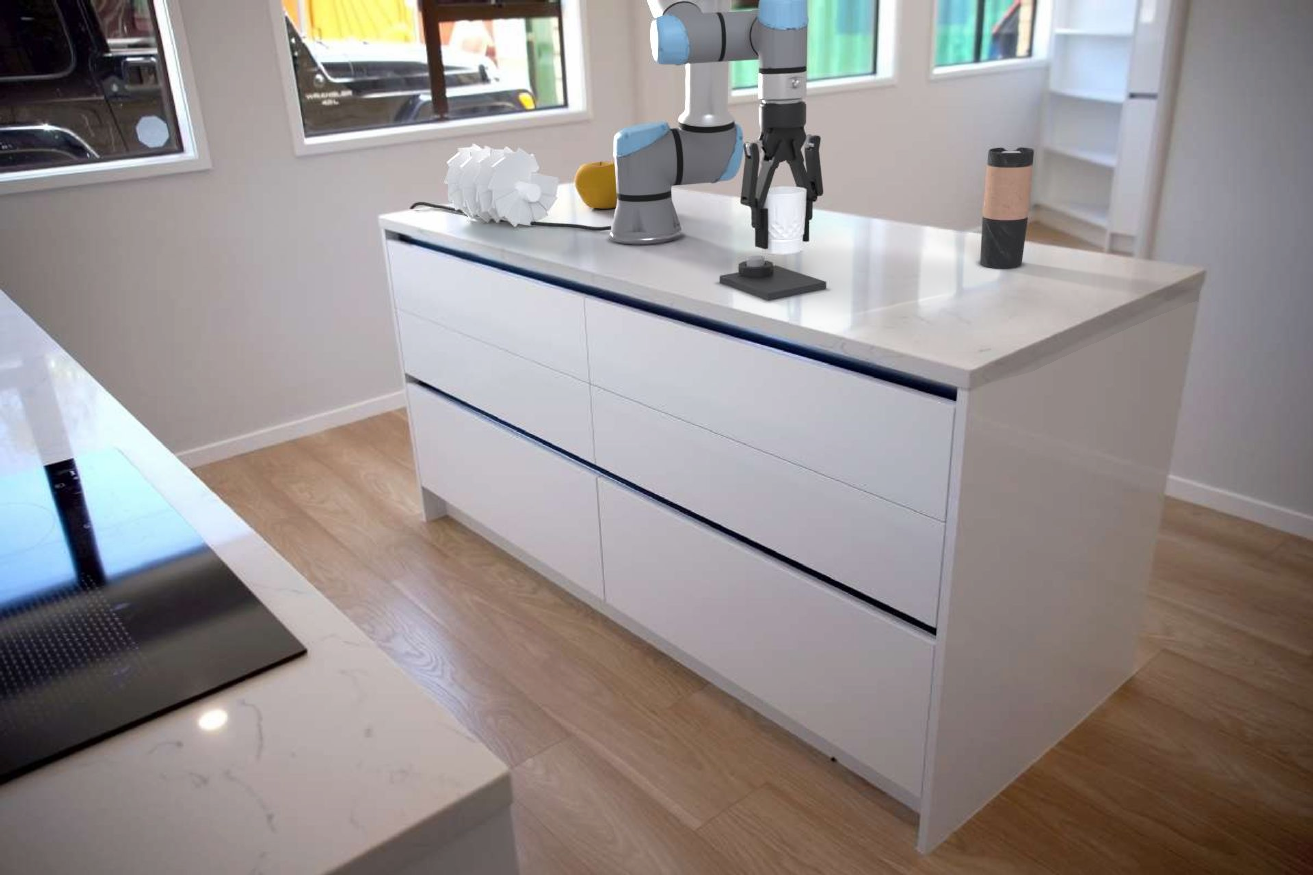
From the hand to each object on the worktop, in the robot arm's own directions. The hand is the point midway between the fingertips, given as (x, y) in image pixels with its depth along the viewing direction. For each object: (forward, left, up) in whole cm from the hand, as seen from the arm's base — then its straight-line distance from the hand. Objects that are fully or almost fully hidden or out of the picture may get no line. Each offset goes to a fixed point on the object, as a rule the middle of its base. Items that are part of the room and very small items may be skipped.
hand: (782, 243), depth 167 cm
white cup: (0, 0, -1) cm, 1 cm away
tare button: (-8, 0, -5) cm, 10 cm away
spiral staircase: (-92, -16, -8) cm, 93 cm away
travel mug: (+10, +41, -8) cm, 43 cm away
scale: (-3, 0, -8) cm, 9 cm away
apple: (-91, +10, -8) cm, 92 cm away
